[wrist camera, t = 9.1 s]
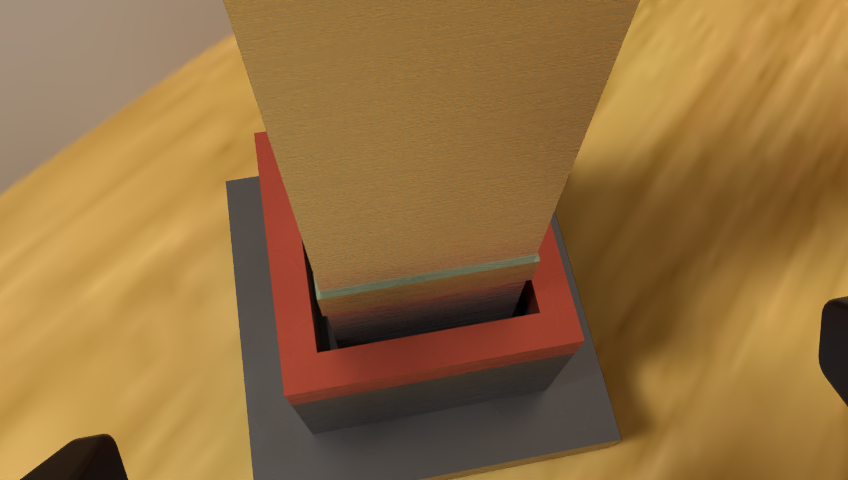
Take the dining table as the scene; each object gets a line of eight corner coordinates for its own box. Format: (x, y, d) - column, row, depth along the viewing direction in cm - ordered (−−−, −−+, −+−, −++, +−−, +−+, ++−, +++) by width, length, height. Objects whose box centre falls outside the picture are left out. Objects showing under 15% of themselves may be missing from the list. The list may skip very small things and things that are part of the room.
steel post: (514, 321, 18) (680, -67, 7) (335, 354, 17) (210, -6, 6) (475, 167, 20) (559, -342, 9) (312, 193, 19) (181, -306, 8)
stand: (608, 447, 22) (683, 402, 16) (266, 515, 21) (208, 494, 15) (525, 156, 26) (560, 32, 20) (236, 202, 25) (180, 87, 19)
